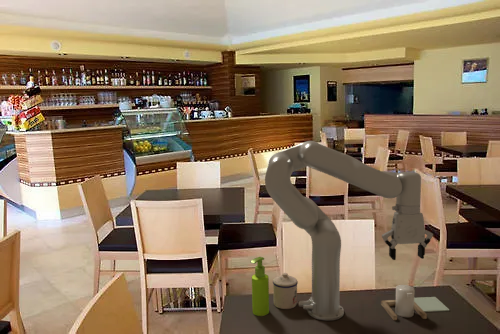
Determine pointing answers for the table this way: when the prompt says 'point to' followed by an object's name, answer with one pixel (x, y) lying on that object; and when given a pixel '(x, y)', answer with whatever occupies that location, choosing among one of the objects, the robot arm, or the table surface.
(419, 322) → the table surface
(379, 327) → the table surface
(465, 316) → the table surface
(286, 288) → the teacup with lid
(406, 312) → the labeled white canister
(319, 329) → the table surface
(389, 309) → the oak stall
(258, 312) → the soap dispenser
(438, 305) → the sage tile
